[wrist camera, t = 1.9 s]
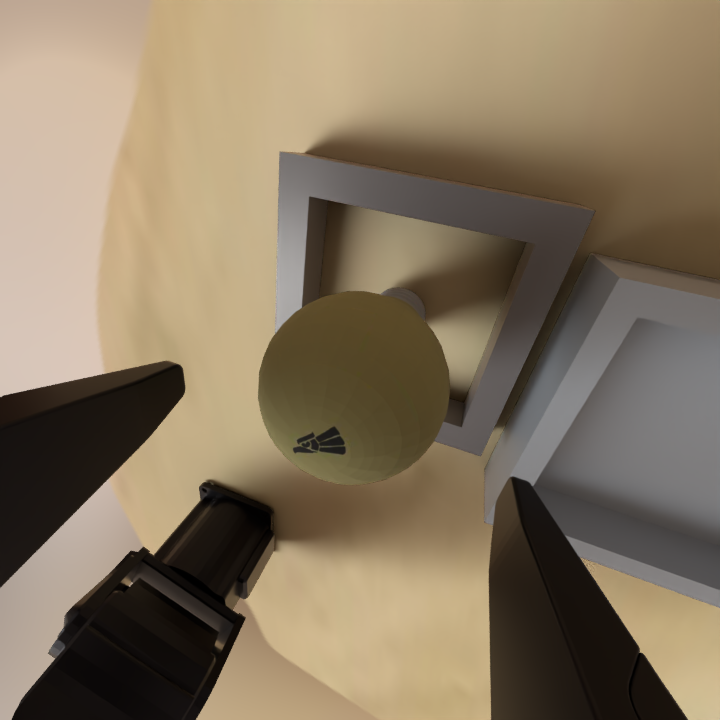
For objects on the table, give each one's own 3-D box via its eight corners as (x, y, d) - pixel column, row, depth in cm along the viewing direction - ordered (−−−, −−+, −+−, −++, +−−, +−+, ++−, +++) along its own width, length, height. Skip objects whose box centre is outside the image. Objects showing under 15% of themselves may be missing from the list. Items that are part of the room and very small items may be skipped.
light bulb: (403, 217, 15) (293, 284, 6) (490, 312, 15) (495, 486, 7) (324, 302, 18) (180, 423, 9) (401, 378, 18) (330, 554, 10)
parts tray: (484, 468, 19) (484, 522, 17) (590, 252, 13) (619, 277, 10) (777, 567, 17) (838, 651, 14) (1081, 355, 11) (1306, 427, 8)
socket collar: (291, 369, 20) (273, 388, 19) (303, 153, 15) (279, 151, 13) (481, 430, 18) (480, 456, 17) (581, 205, 13) (595, 211, 11)
